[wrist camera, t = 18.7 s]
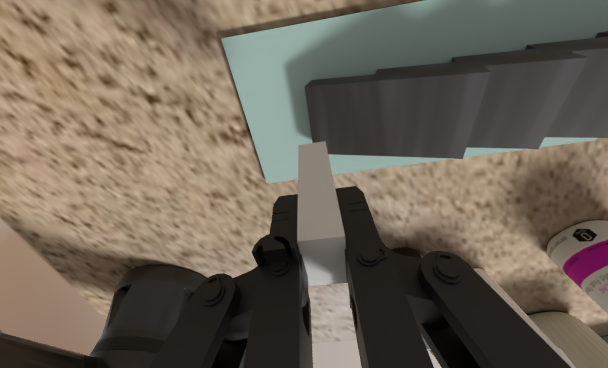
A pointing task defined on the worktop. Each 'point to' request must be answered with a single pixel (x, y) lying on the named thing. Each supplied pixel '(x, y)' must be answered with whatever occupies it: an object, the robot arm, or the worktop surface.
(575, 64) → the domino
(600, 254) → the supplement can
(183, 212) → the worktop surface
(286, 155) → the domino mat
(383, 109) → the domino
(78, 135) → the worktop surface
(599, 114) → the domino
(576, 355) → the canister
